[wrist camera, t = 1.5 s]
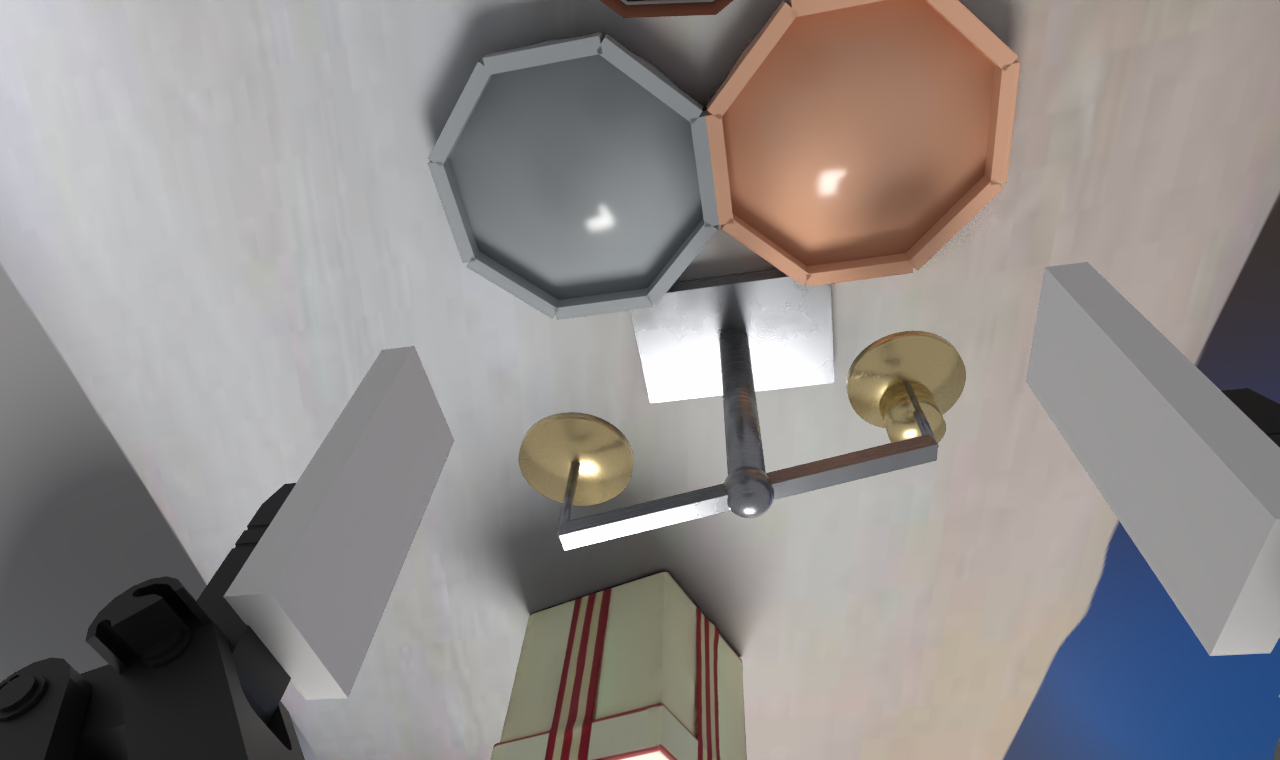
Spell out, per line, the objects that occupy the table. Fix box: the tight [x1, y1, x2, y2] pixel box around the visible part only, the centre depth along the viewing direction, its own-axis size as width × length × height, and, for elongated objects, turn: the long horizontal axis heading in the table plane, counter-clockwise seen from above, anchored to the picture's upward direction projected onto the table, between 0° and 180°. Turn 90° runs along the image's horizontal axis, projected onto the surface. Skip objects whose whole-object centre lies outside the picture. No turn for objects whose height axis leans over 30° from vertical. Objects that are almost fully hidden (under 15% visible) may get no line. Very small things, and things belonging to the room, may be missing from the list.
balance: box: [519, 269, 966, 551], centre depth 38 cm, size 8×24×17 cm, turn 100°
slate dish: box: [428, 32, 719, 320], centre depth 39 cm, size 15×15×2 cm
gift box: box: [491, 572, 747, 760], centre depth 58 cm, size 17×18×17 cm
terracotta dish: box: [705, 0, 1020, 287], centre depth 37 cm, size 15×15×2 cm
